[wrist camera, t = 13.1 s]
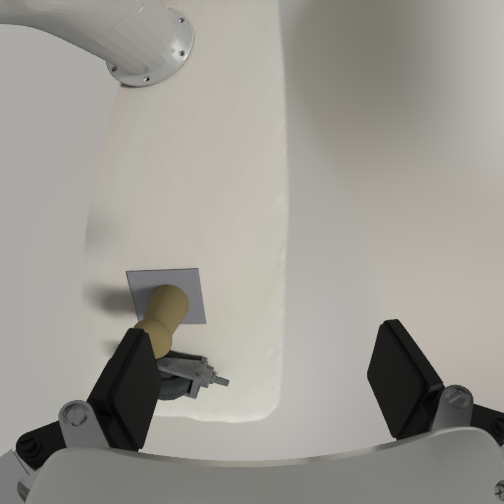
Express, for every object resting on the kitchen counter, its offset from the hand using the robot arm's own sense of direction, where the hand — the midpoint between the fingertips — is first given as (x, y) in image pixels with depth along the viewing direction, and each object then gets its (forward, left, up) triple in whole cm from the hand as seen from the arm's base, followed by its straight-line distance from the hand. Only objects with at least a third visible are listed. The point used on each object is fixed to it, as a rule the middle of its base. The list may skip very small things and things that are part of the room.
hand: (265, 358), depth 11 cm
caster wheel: (+24, -13, -28) cm, 39 cm away
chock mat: (+12, -14, -28) cm, 33 cm away
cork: (+13, -13, -28) cm, 33 cm away
